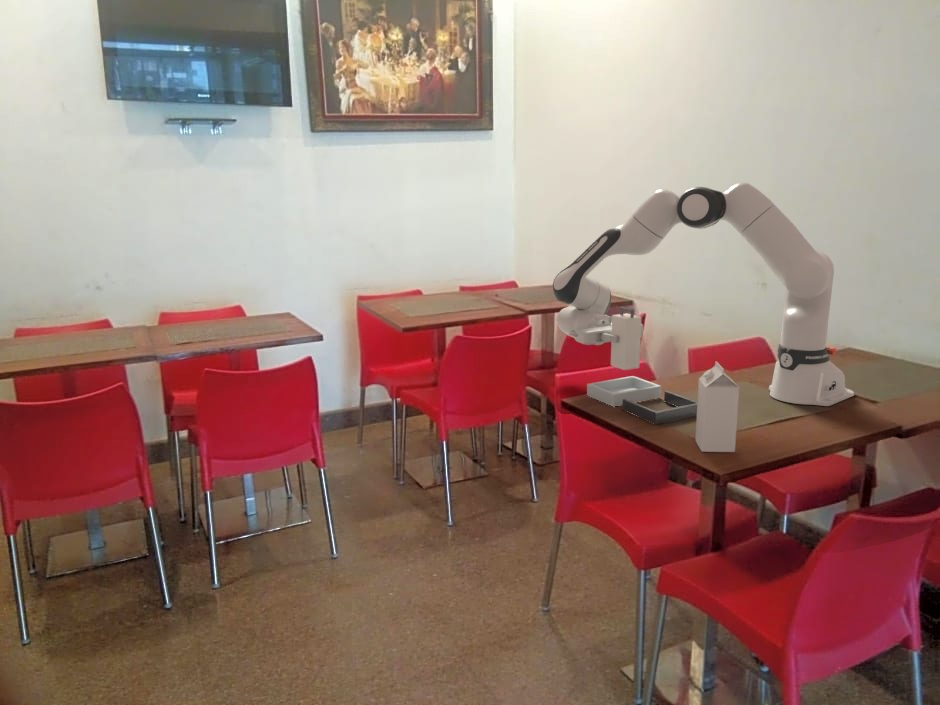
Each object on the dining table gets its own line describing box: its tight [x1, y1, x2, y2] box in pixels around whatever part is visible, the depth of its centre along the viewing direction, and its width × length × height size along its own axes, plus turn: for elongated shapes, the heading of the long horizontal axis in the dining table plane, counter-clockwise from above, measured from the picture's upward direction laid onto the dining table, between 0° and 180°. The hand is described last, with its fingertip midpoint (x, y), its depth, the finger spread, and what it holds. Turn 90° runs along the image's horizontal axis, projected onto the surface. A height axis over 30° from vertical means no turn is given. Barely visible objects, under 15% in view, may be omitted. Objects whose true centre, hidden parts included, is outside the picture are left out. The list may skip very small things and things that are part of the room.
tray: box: [586, 375, 662, 408], centre depth 198 cm, size 16×12×4 cm
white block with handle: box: [610, 306, 642, 371], centre depth 194 cm, size 5×6×16 cm
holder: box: [621, 390, 698, 425], centre depth 185 cm, size 15×13×3 cm
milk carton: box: [695, 360, 740, 453], centre depth 159 cm, size 7×7×19 cm
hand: (626, 338), depth 194 cm, fingers closed on white block with handle, 5 cm apart
